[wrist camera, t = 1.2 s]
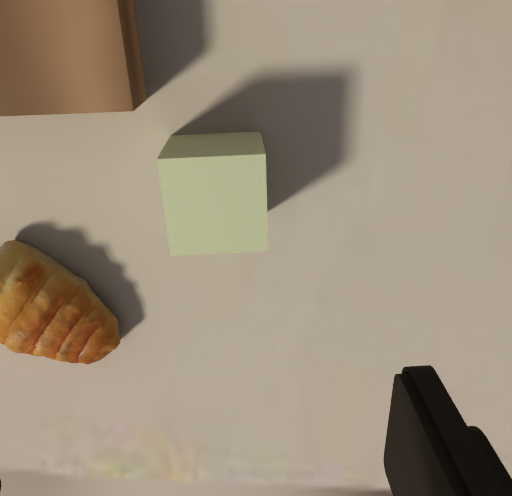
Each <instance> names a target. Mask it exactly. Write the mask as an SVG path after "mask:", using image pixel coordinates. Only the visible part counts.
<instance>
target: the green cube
mask: <svg viewBox="0 0 512 496" xmlns="http://www.w3.org/2000/svg"><path fill="white" fill-rule="evenodd" d="M157 165H158V172H159V180H160V187H161V194H162V202H163V209H164V216H165V223H166V231H167V238H168V245H169V253H170V256H179V255H199V254H219V253H239V252H259V251H268V220H267V183H266V153H265V149H264V144H263V140H262V135H261V131H257V132H235V133H213V134H191V135H171V136H170V137H169V139H168V141H167V143H166V144H165V146H164V148H163V149H162V151H161V153H160V154H159V156H158V158H157Z"/></svg>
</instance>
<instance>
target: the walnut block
mask: <svg viewBox="0 0 512 496" xmlns="http://www.w3.org/2000/svg"><path fill="white" fill-rule="evenodd" d="M146 100H147V94H146V87H145V79H144V72H143V64H142V57H141V49H140V42H139V34H138V27H137V19H136V12H135V4H134V0H0V116H20V115H45V114H71V113H97V112H123V111H134V110H135V109H136V108H137V107H139V106H140V105H141V104H142V103H143V102H144V101H146Z"/></svg>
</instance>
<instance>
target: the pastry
mask: <svg viewBox="0 0 512 496" xmlns="http://www.w3.org/2000/svg"><path fill="white" fill-rule="evenodd" d="M0 343H2V344H4V345H5V346H6V347H8V348H9V349H10V350H12V351H14V352H16V353H26V354H31V355H34V356H45V357H47V358H51V359H55V360H58V361H67V362H70V363H84V364H90V363H93V362H96V361H99V360H101V359H102V358H104V357H105V356H106V355H108V354H109V353H110V352H111V351H112V350H114V349H116V348H117V346H118V345H119V343H120V334H119V325H118V320H117V318H116V317H115V316H114V315H113V313H112V312H111V311H110V310H109V309H108V308H107V307H106V306H105V305H104V304H103V303H102V301H101V300H100V299H99V298H98V296H96V294H95V293H94V292H93V291H92V289H91V287H90V285H89V284H88V283H87V281H86V280H85V279H84V278H82V277H78V276H76V275H74V274H73V273H72V272H71V271H70V270H69V269H67V268H65V267H64V266H62V265H61V264H60V263H58V262H57V261H56V260H54V259H53V258H52V257H50V256H48V255H47V254H45V253H43V252H41V251H39V250H38V249H37V248H34V247H32V246H29V245H27V244H26V243H23V242H19V241H16V240H12V241H7V242H5V243H4V244H3V245H2V246H1V247H0Z"/></svg>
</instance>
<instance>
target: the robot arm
mask: <svg viewBox="0 0 512 496" xmlns="http://www.w3.org/2000/svg"><path fill="white" fill-rule="evenodd" d="M384 467H385V472H386V476H387V479H388V482H389V485H390V488H391V491H392V494H393V496H512V479H511V477H510V475H509V474H508V472H507V470H506V469H505V467H504V465H503V464H502V462H501V460H500V459H499V457H498V456H497V454H496V452H495V451H494V449H493V447H492V446H491V444H490V442H489V441H488V439H487V437H486V436H485V435H484V433H483V432H482V431H481V430H480V429H479V428H478V427H475V426H467V425H466V423H465V422H464V420H463V418H462V416H461V415H460V413H459V411H458V410H457V408H456V406H455V404H454V403H453V401H452V399H451V397H450V396H449V394H448V392H447V390H446V389H445V387H444V385H443V383H442V382H441V380H440V378H439V376H438V375H437V373H436V371H435V370H434V368H433V367H432V366H430V365H429V366H411V367H404V368H403V370H402V374H396V375H395V377H394V383H393V391H392V398H391V406H390V413H389V421H388V428H387V436H386V444H385V451H384ZM0 490H1V481H0Z"/></svg>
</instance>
